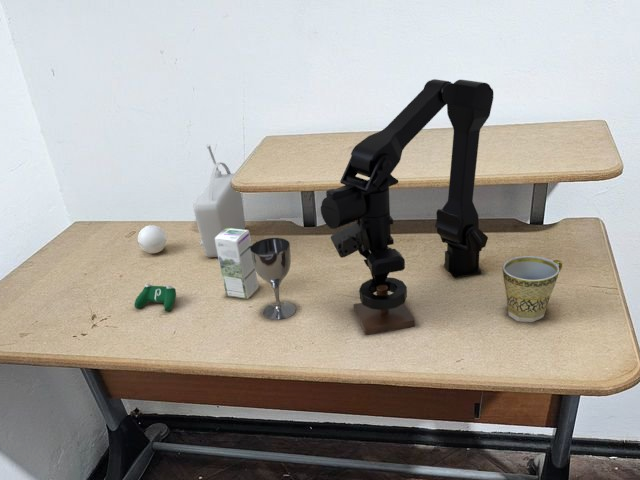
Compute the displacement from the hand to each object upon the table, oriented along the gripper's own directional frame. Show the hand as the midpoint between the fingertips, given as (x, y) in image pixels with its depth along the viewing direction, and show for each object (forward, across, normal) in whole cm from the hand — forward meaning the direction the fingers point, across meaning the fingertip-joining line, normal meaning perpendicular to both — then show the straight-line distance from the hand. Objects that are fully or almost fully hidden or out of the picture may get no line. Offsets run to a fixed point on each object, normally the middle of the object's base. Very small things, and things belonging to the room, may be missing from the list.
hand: (377, 285), depth 127 cm
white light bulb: (+6, -48, -49) cm, 69 cm away
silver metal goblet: (+6, -6, -20) cm, 22 cm away
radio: (+6, -46, -30) cm, 55 cm away
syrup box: (+6, -17, -27) cm, 33 cm away
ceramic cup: (+6, +11, +28) cm, 30 cm away
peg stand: (+6, +4, 0) cm, 7 cm away
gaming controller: (+6, -18, -46) cm, 50 cm away
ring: (+1, +4, 0) cm, 4 cm away
